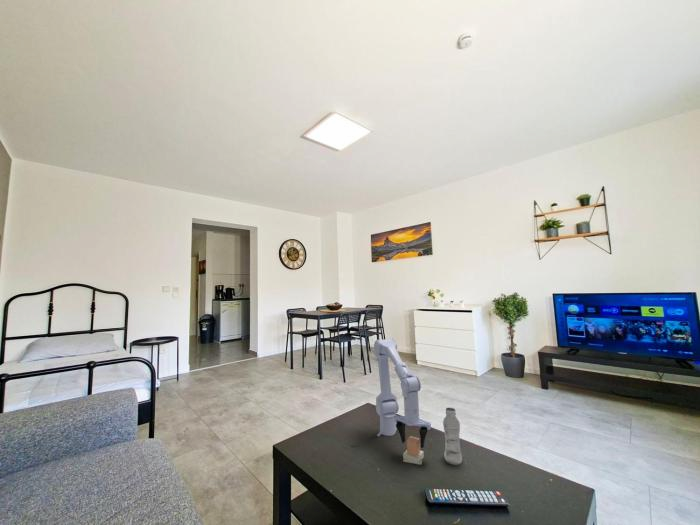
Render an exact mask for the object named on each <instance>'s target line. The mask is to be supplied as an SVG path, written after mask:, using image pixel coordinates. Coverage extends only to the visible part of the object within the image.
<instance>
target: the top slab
mask: <svg viewBox="0 0 700 525" xmlns="http://www.w3.org/2000/svg"><path fill="white" fill-rule="evenodd" d="M402 454H403V455H402V457H403V460H408V461H410V462H413V463H412V464H415V463H416V465H419V464H418V463H419V462H420V461H421V460H422V461H423V459H424V457H425V454H424V450H421V449H420V453H419V455H418V456H417V457H416V456H412V455H409V454H407V449H406V450H405V451H404V452H403V453H402ZM410 462H409V463H410Z"/></svg>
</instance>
